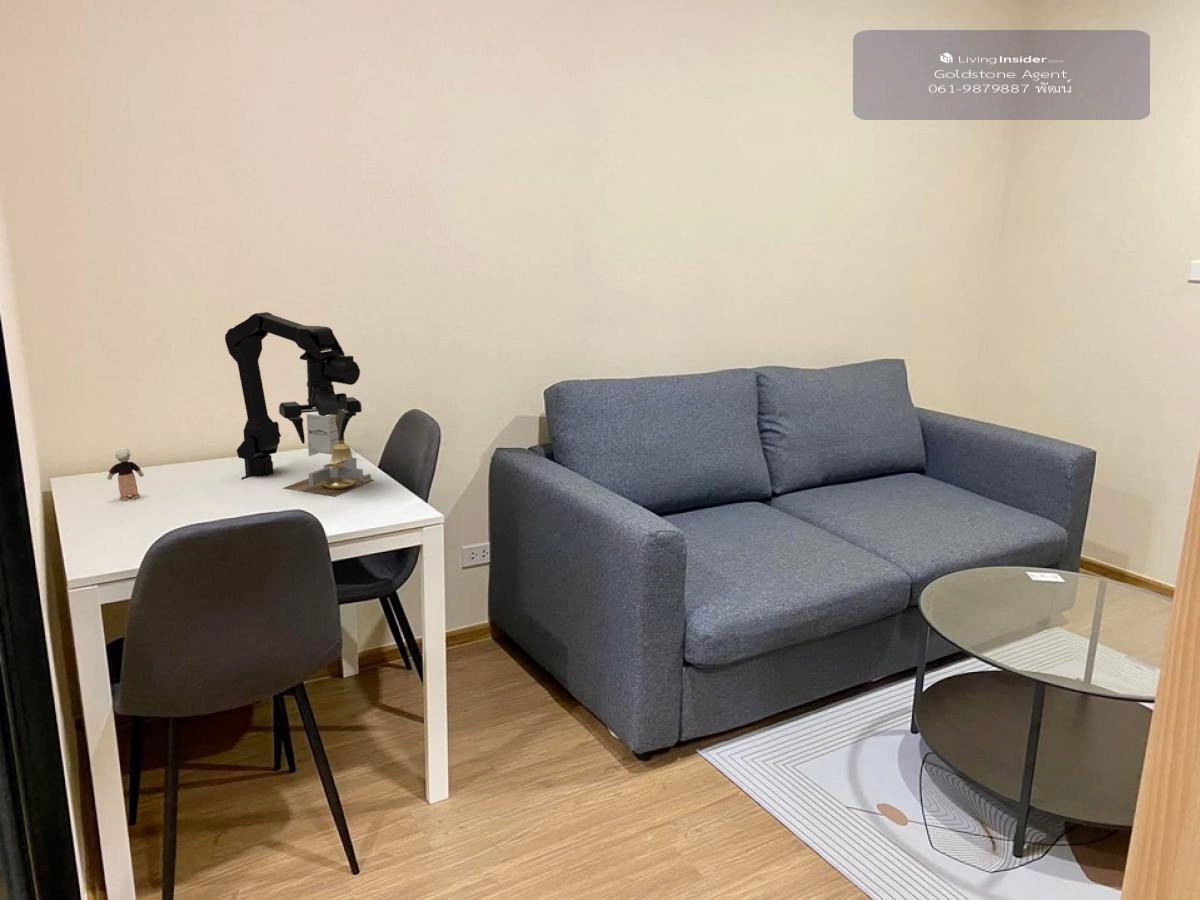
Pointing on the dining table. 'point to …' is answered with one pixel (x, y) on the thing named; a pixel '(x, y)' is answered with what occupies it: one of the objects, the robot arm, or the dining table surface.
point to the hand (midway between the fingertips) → (322, 441)
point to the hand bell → (340, 449)
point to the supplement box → (321, 433)
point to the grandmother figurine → (125, 474)
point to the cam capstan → (337, 475)
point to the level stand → (320, 490)
